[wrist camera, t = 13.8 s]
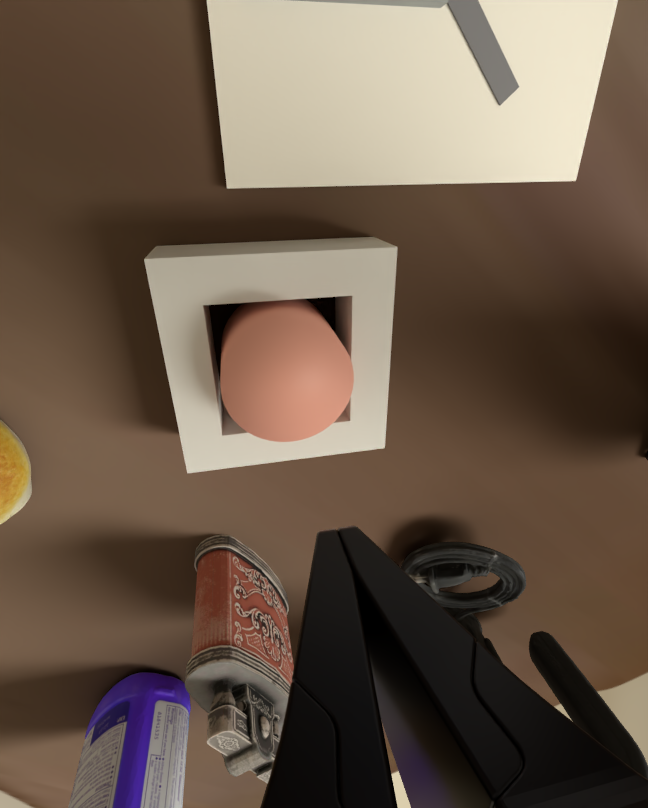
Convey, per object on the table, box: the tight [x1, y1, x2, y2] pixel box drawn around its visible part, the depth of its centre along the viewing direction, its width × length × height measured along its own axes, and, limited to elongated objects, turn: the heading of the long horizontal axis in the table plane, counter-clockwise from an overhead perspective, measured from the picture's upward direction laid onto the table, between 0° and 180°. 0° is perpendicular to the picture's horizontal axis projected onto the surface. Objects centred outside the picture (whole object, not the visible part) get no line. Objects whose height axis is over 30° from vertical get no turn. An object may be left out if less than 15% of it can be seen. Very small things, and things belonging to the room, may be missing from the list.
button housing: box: [144, 237, 397, 473], centre depth 19 cm, size 9×9×3 cm
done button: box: [220, 299, 354, 442], centre depth 18 cm, size 5×5×4 cm
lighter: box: [185, 535, 294, 783], centre depth 22 cm, size 8×3×10 cm, turn 27°
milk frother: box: [401, 542, 648, 779], centre depth 26 cm, size 14×16×15 cm
